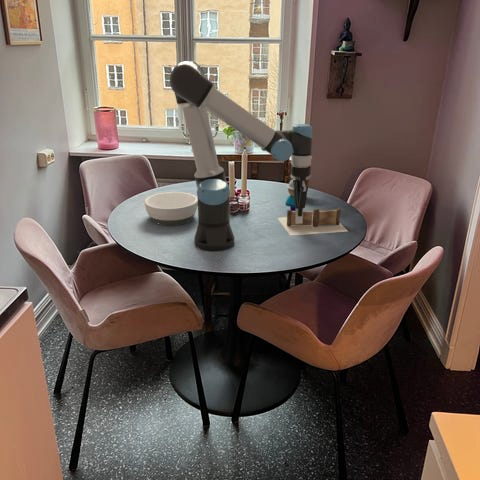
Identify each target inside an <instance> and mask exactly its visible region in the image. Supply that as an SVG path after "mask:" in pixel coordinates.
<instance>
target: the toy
mask: <svg viewBox="0 0 480 480" xmlns="http://www.w3.org/2000/svg"><path fill="white" fill-rule="evenodd" d="M293 180H295V179H293ZM293 180H291V179H290V181H289V183H288V184H287V185H286V186H285V188H286V189H287V192H288V193H289V195H288V196H287V199H286V200H285V204H284V205H285V206H286V207H290V209H289V210H292V211H296V209H295V207H296V206H295V204H294V185H293Z"/></svg>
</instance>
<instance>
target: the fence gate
mask: <svg viewBox="0 0 480 480" xmlns="http://www.w3.org/2000/svg"><path fill="white" fill-rule="evenodd" d="M286 215H287V216H286V217H287V226H291V225H311V226H312V215H313V210H303V222H302V223H301V224H296V223H295V215H296V211H292V210H290V209H287V214H286Z"/></svg>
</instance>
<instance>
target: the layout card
mask: <svg viewBox="0 0 480 480" xmlns="http://www.w3.org/2000/svg"><path fill="white" fill-rule="evenodd" d="M277 219H278V221H279V223H280V224H281V225H282V226H283V228H284V229H285V231H286V232H287V233H288V234H289V236H290V237H291V236H302V235H304V236H305V235H306V236H307V235H318V234H330V233H333V234H334V233H345V232H348V229H347V228H345V226H344V225H342V223H340V224H339V225H335V224H330V225H318V227H313V226H311V225H291V226H287V216H281V217H277ZM312 223H313V214H312Z"/></svg>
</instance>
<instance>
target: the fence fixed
mask: <svg viewBox="0 0 480 480" xmlns="http://www.w3.org/2000/svg"><path fill="white" fill-rule="evenodd" d="M341 210H342V209H341V208H336V209H329V210H327V209H326V210H320V209H319V208H316V207H315V208H313V209H312V215H313V223H312V226H313V227H318V225H330V224H335V225H339V224H341V212H342V211H341Z"/></svg>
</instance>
